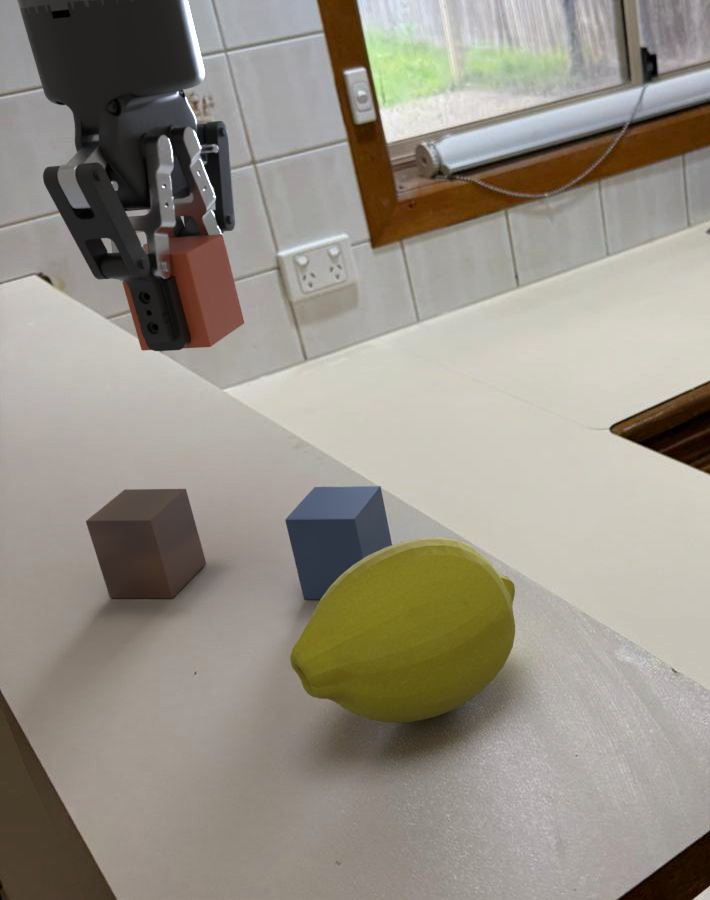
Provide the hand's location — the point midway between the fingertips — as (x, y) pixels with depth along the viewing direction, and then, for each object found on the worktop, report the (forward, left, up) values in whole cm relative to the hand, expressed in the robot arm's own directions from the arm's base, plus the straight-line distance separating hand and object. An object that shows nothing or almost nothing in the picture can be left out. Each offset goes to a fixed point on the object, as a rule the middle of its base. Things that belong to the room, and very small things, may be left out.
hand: (191, 332), depth 61 cm
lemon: (+15, -12, -15) cm, 24 cm away
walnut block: (-5, -1, -15) cm, 16 cm away
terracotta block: (0, 0, 0) cm, 0 cm away
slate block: (+7, -1, -15) cm, 16 cm away
